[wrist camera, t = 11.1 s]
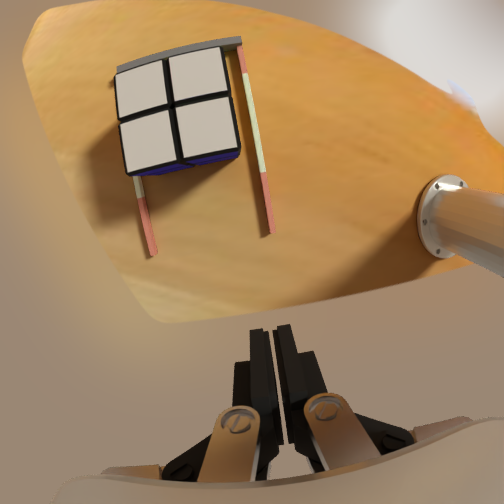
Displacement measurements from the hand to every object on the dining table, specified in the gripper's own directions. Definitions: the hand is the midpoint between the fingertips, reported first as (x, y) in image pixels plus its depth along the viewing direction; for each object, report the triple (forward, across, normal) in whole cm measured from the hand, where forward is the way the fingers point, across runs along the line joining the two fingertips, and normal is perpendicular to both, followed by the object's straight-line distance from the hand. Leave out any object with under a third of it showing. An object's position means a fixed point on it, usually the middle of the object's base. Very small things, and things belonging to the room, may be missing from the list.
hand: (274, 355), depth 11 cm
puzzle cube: (+23, +6, -14) cm, 28 cm away
